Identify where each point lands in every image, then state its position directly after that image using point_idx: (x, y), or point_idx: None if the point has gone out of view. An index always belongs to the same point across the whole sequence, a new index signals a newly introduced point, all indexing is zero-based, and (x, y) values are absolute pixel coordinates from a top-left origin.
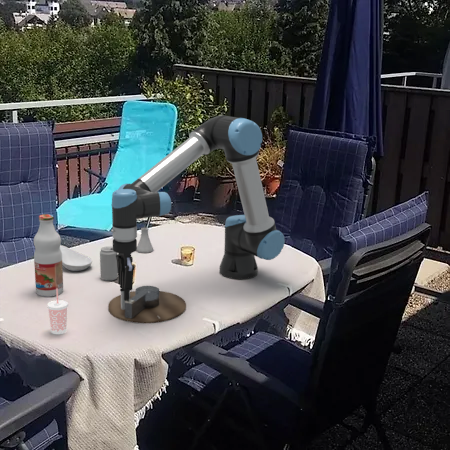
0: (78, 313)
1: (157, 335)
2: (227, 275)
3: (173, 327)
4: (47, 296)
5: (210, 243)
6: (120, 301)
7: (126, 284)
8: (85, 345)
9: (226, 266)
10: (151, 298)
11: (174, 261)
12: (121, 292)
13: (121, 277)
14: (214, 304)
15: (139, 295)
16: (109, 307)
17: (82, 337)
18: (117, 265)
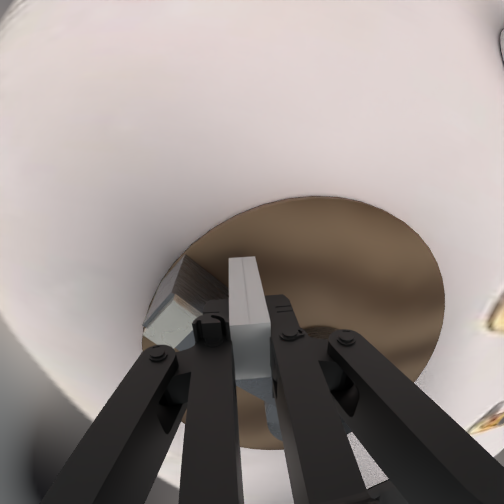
0: (351, 56)
1: (49, 327)
2: (376, 489)
3: (106, 385)
4: (500, 40)
5: (496, 439)
6: (389, 270)
7: (113, 406)
8: (22, 63)
9: (387, 500)
10: (265, 406)
11: (498, 405)
12: (240, 313)
13: (289, 417)
14: (249, 478)
15: (267, 383)
16: (347, 205)
17: (80, 43)
18: (467, 453)
